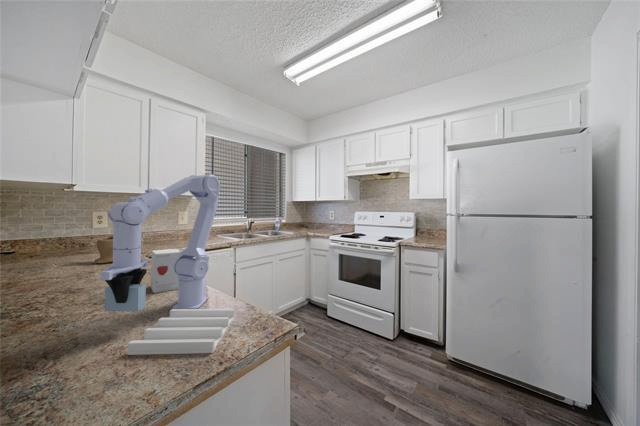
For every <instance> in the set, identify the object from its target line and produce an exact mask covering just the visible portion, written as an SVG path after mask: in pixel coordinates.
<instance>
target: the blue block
mask: <svg viewBox="0 0 640 426" xmlns="http://www.w3.org/2000/svg"><path fill="white" fill-rule="evenodd" d="M146 293H147V284H146V283H145V284H143V283H142V284H141V283H140V284H130V286H129V291H128V298H127V302H126V303H116V301H115V297H114V294H113V292H112V290H111V288H110V286H109V285H108V286H106V287H105V288H104V312H139V311H140V310H142V309H144V308H146V305H147V304H146V301H147V300H146V299H147V298H146V296H147V295H146Z"/></svg>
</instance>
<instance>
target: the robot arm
mask: <svg viewBox="0 0 640 426" xmlns="http://www.w3.org/2000/svg"><path fill="white" fill-rule="evenodd" d="M221 187H222V185H221V183H220V181H219V179H218V177H217V176H216V175H215V174H205V175H204V174H203V175H202V174H201V175H200V174H199V175H195V174H194V175H193V174H192V175H190V176H189V175H188V176H187V177H186V176H185V177H184V178H182V179H181V180H178V181H177V182H175V183H173V184H171V185H169V186H167V187H165V188H163V189H161V190H160V189H157V188H147V189H145V190H144V193H142V194H139V195H137V196H131V197H130V196H129V198H128V201H119V202H118V203H114V204H113V206H112V207H111V208H110V210H109V211H108V212H107V216H108V219H109V220H110V221H111V222H112V225H113V226H112V228H113V229H112V231H113V233H112V234H113V235H112V236H113V262H112V264H109V265H108V268H106V269H104V270H102V271H100V272H99V274H100V275H99V280H100V281H105V282H106V284H108V287H109V286H110V288H111V290H112V292H113V294H114V297H115V301H116V303H126V302H127V298H128V291H129V286H130V284H141V283H142V280H143V279H144V277H145V275H146V274H147V269H146V268H147V267H149V259H148V258H146V259H145V258H144V259H143V258H142V252H141V251H142V223H144V222H145V221H146V220H147V217H148V216H150V215H152V214H153V213H156V212H157V211H159V210H161V209H163V208H165V207H167V206H168V203H169V200H172V199H175V198H176V197H178V196H181V195H183V194H185V193H187V192H189V193H190V194H191V195H192V196H193V197H194V198H195V199H196V200H197V201H198V202H199V204H200V205H199V208H198V212H197V215H196V219H195V221H194V225H193V229H192V231H191V234H190V237H189V240H188V245H187V247H186V248H185V249H183V250H182V251H180V252H181V253H180V256H179V258H178V259H177V260H176V262H175V263H174V272H175V273H176V274H177V275H178V278H179V285H178V289H177V291H178V293H177V294H178V295H177V297H178V298H177V303H176V304H175V305H173V306H172V307H171V308H172V309H200V307H202V305H204V304H205V302H207V300H208V299H209V296H207V280H206V278H205V277H206V275H207V273H208V271H209V268H210V267H209V261H210V256H209V254H208V253H207V252H206V247H207V244H208V240H209V237H210V235H211V230H212V228H213V227H212V226H213V224H214V223H213V222H214V221H215V220H214V219H215V216H216V212H217V210H218V205H219V194H220V190H221ZM143 267H146V268H143ZM172 309H171V310H172Z"/></svg>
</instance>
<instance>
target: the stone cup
mask: <svg viewBox="0 0 640 426" xmlns="http://www.w3.org/2000/svg"><path fill="white" fill-rule="evenodd" d="M96 248H97V251H98V252H99V258H95V260H94V261H93V262H94V263H96V264H109V263H113V235H109V236H105V237H104V236H101V237H100V238H98V239H97V241H96Z"/></svg>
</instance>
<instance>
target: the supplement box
mask: <svg viewBox="0 0 640 426" xmlns="http://www.w3.org/2000/svg"><path fill="white" fill-rule="evenodd" d="M181 252H182V251H180V250H179V249H177V248H173V249H172V248H169V249H156V250H155V249H153V250H151V259H150V260H151V261H150V265H151V266H150V288H151V291H152V293H154V294H157V293H161V292H162V293H163V292H167V291H168V292H169V291H174V290H178V285H179V278H178V275H177V274H176V273H175V272H174V263H175V262H176V260H177V259H178V258H179V256H180V253H181Z"/></svg>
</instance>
